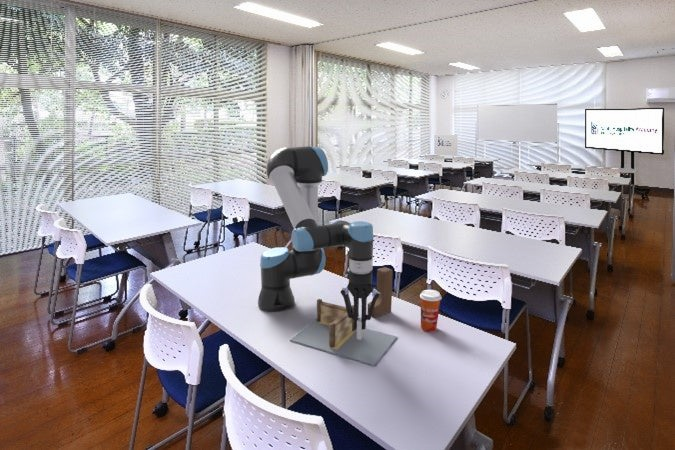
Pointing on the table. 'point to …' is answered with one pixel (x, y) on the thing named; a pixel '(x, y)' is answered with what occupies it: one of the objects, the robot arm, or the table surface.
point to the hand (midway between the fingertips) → (359, 337)
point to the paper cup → (429, 309)
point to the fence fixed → (330, 312)
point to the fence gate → (339, 329)
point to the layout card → (346, 343)
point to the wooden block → (383, 292)
